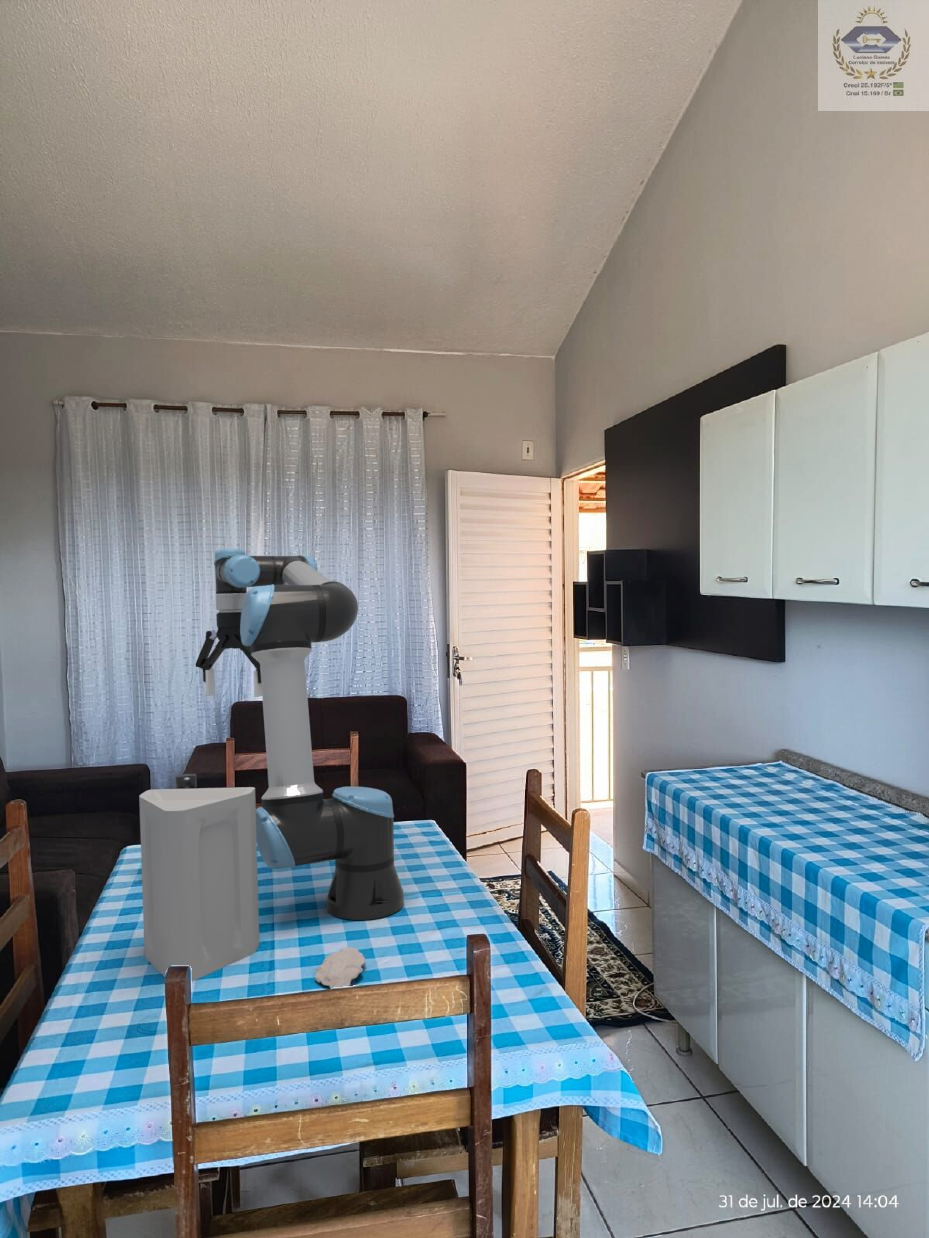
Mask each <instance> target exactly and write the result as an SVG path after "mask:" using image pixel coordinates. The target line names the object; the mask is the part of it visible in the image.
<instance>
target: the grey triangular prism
mask: <svg viewBox="0 0 929 1238" xmlns="http://www.w3.org/2000/svg"><path fill="white" fill-rule="evenodd" d="M138 798H139V799H138V801H139V827H140V828H139V830H140V831H139V833H140V855H141V856H140V857H141V860H140V861H141V884H142V885H141V886H142V887H141V889H142V890H141V891H142V912H143V913H142V917H143V921H142V922H143V944H144V946H143V948H144V949H143V950H144V952H143V953H144V958H145V959H146V960H147V961H148V962H149V963H150V964H151V965H152V966H153V967H154V968H155V969H156V970H157V971H158V972H159V973H160V972H161V973H160V974H161V975H162V974H163V975H162V976H163V977H164V978H165V972H166V970H167V968H168V967H169V966H171V965H189V966H191V968H192V982H193V981H196V980H198V979H201V978H203V977H205V976H207V975H209V974H211V973H214V972H217V971H219V970H221V969H223V968H225V967H227V966H229V965H232V964H233V963H236V962H238V961H240V960H243V959H245V958H247V957H249V956H252V955H254V954H255V953H256V951H257V950H258V949H259V946H260V921H259V920H260V916H259V915H260V914H259V885H258V882H259V880H258V845H257V841H256V809H257V807H256V787H252V786H248V787H247V786H246V787H244V786H243V787H204V788H203V787H201V788H197V787H196V788H193V789H176V788H171V789H170V788H165V789H164V788H161V789H156V788H155V789H148V790H146V791H144V792H142V793H141V794H139V797H138Z"/></svg>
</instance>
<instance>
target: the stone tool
mask: <svg viewBox="0 0 929 1238" xmlns="http://www.w3.org/2000/svg"><path fill="white" fill-rule="evenodd" d="M365 964H366V958H365V956H364V954H363V953H362V952H360V951H359V949H357V948H355V947H349V946H348V947H345V948H341V949H340V950H338V951H336V952H332V953H330V955H328V956H327V957H325V958H324V959H323V961H322V964H320V965H318V966H317V967H315V970H316V972H315V976H314V981H316V982H317V983H318V984H322V985H323V986H325V987H326V986H328V987H329V989H331V988H333V987H343V986H349V985H350V986H351V982H352V981H353V980H355V979H357V978H358V977H359V974H361V973H363V970H364V969H363V968H362V967H363V966H364V965H365Z"/></svg>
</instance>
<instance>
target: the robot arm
mask: <svg viewBox="0 0 929 1238" xmlns="http://www.w3.org/2000/svg"><path fill="white" fill-rule="evenodd" d="M213 565H214V572H215V573H214V575H215V576H214V578H215V609H216V611H218V612H217V613H216V615H215V616H216V619H215V620H216V627H217V631H216V630H207V631H205V640H204V643H203V645H202V648H201V650H200V651H199V655H198V656H197V660H196V662H195V667H196V668H199V669H202V680H203V683H205V696H206V697H211V696H215V695H216V686H215V668H213V666H214V664H216V662H217V660H218V659H219V657H220V656H221V655H222V653H223V652H224V651H225V650H229V649H233V650H234V649H236V650H238V649H239V650H240V651H242V652H243V654H244V655H245V656H246V658H247V659H248V660H249V662H250V663H251V665H253V666H254V668H255V670H253V688H254V689H253V692H254V693H253V694H254V696H253V697H254V698H259V697H262V710H263V711H262V712H263V724H264V725H263V726H264V737H265V739H264V740H265V751H266V765H267V766H266V767H267V779H268V780H267V782H268V783H267V784H268V788H267V790H266V791H265V793H264V794H263V795H262V797H261V806H260V807H259V806H258V807H257V808H256V841H257V849H258V851H259V853H260V856H261V858H262V861H263V862H264V864H265V865H266V866H267V867H268V868H270V869H273V870H281V869H289V868H290V869H295V867H301V866H305V865H306V866H307V865H311V864H318V863H323V862H330V861H334V865H335V866H334V873H333V876H332V879H331V883H330V885H329V889H328V892H327V896H326V906H327V907H326V908H327V909H326V910H327V911H328V913H330V914H331V915H332V916H334V917H336V918H340V919H343V920H349V921H350V920H352V921H366V920H367V921H368V920H374V919H375V920H376V919H380V918H384V917H388V916H391V915H393V914H396V913H397V912H399V911H400V910H401V909H402V908H403V906H404V904H405V901H404V898H405V897H404V895H405V894H404V889H403V887H402V883H401V881H400V878H399V876H398V873H397V869H396V867H395V855H394V854H395V851H394V850H395V845H394V843H395V841H394V840H395V839H394V836H395V835H394V833H395V832H394V818H395V813H394V808H393V799H392V797H391V795H390V794H388V793H387V791H384V790H381V789H377V788H374V787H373V788H372V787H365V786H341V787H337V788H335V789H334V790H333V793H332V797H331V798H324V791H323V788H321V787H319V786H318V784H316V782H315V775H314V765H313V764H314V763H313V750H312V737H311V724H310V714H309V700H308V699H309V698H308V687H307V685H308V684H307V675H306V662H305V661H306V659H307V657H308V656H309V655H310V654H311V652H312V648H313V647H312V643H325V642H326V643H327V642H330V641H333V640H336V639H338V638H340V637H342V636H343V635H345V634H346V633H347V632H348V631H349V630H350V629H351V628H352V627H353V625H354V624H355V622H356V620H357V617H358V615H359V613H358V612H359V604H358V601H357V600H358V599H357V597H356V595H355V594H354V592H353V591H352V589H350V588H349V587H347V586H346V585H345V584H343V583H341V582H340V581H336V580H330V579H329V578H327V576H324V575H323V574H322V573H320V572H319V571H318V564H317V562H316V560H315V557H312V556H308V555H301V554H298V555H248V554H247V553H246V551H245V550H244V549H242V548H241V549H240V548H239V549H237V548H229V549H228V548H224V549H223V548H222V549H217V550H216V551H215V554H214V562H213ZM248 588H250V589H248ZM247 589H248V590H247ZM216 639H218V642H216V641H215V640H216ZM215 642H216V645H215V646H214V644H215ZM213 646H214V649H213ZM212 649H213V650H212ZM211 651H212V652H211Z"/></svg>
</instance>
